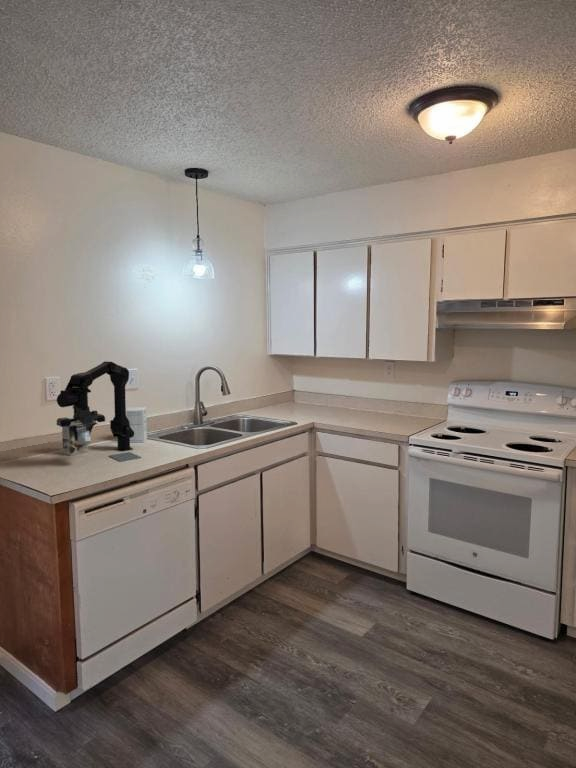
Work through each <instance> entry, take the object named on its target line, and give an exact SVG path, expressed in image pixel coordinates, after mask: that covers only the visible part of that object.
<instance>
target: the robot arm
mask: <svg viewBox="0 0 576 768" xmlns="http://www.w3.org/2000/svg"><path fill="white" fill-rule="evenodd" d="M105 374H106V375H108V376H109V379H110V382H111V384H112V386H113V393H114V394H113V397H114V398H113V399H114V403H113V404H114V417H113V419H110V421H109V424H110V427H109V429H110V431H111V434H112V437H114V438H116V439H117V447H114V450H117V451H119V452H122V451H130V450H134V447H132V446H131V443H130V438H132V437H133V436H134V431H133V430H132V429H131V428H130V423H129V420H128V419H127V417H126V409H127V408H126V405H127V404H126V402H127V401H126V385H127V383H128V382H129V379H130V371H129V369H128V368H127V367H124V366H121V365H118V364H117V363H115V362H113V361H108V360H107V361H106V360H104V361H103V362H101V363H100V364H98V365H96V366H95V367H92V368H91V369H88V370H87V371H84V372H78V373H75V374H72V375H71V376H70V379H69V381H68V383H67V385H66V387H65V389H64V390H60V393H59V394H58V395H57V397H56V403H57V405H58V406H59V407H60V408H66V407H72V409H73V415H72V418H74V419H71V418H69V417H59V418H57V419H56V426H58V427H61V428H62V427H65V426H67V427H69V429H70V430H71V432H72V434H73V436H74V438H75V440H76V441H77V426H76V425H75V423H79V422H81V423H82V424H86V430H88V431H90V434H92V433H91V432H92V430H93V428H94V426H95V425H98V423H105V422H106V416H105V415H103V414H101V413H98V410H90V405H89V395H88V393H91V392H92V390H91V389H89V387H90V386H91V385H92V384H93V382H94V381H95V380H96V379H98V378H101V377H102V376H103V375H105Z"/></svg>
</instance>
